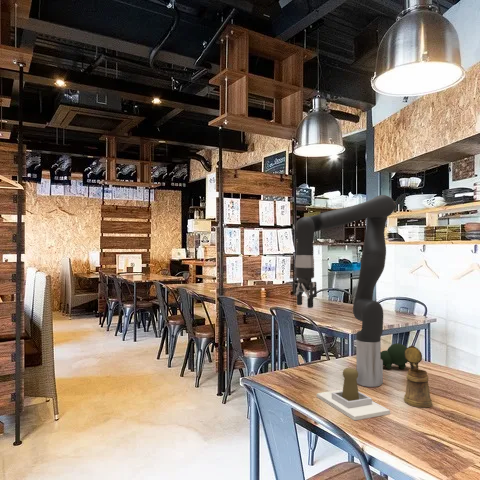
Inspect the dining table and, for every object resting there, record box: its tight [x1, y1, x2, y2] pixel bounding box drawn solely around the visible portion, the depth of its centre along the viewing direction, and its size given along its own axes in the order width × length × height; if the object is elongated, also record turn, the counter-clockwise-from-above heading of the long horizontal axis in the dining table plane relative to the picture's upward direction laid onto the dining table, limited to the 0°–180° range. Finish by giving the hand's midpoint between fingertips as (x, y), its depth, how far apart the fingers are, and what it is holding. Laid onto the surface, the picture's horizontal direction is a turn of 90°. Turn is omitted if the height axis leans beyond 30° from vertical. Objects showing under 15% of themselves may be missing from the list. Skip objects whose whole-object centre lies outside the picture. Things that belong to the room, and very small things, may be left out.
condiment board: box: [316, 389, 391, 421], centre depth 144 cm, size 14×22×3 cm, turn 22°
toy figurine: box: [381, 342, 409, 370], centre depth 187 cm, size 9×19×25 cm
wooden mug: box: [403, 344, 433, 409], centre depth 148 cm, size 9×14×18 cm, turn 170°
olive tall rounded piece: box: [342, 367, 359, 401], centre depth 144 cm, size 6×6×11 cm
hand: (304, 306), depth 169 cm, fingers open, 8 cm apart
